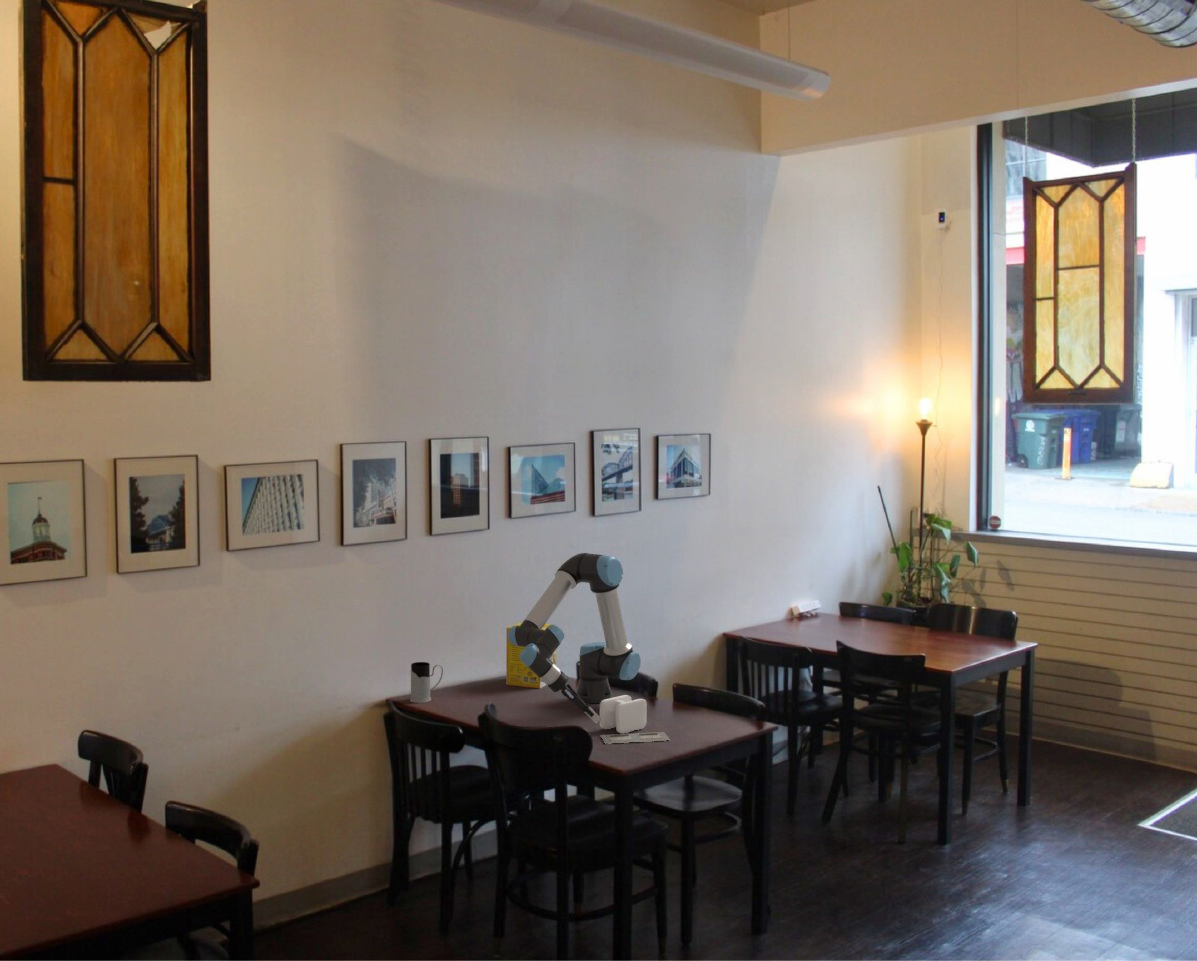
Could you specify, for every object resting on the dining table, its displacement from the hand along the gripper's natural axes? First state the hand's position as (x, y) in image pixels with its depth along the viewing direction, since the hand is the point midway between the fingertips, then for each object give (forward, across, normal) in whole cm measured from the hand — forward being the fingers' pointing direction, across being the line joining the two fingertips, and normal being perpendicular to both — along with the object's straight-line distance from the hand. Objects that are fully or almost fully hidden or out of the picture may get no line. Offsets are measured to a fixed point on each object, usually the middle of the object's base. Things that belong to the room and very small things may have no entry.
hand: (598, 720), depth 423 cm
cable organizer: (+10, -1, +4) cm, 10 cm away
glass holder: (-41, -57, -47) cm, 84 cm away
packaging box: (-8, -78, -14) cm, 80 cm away
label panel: (+11, +12, +5) cm, 17 cm away
